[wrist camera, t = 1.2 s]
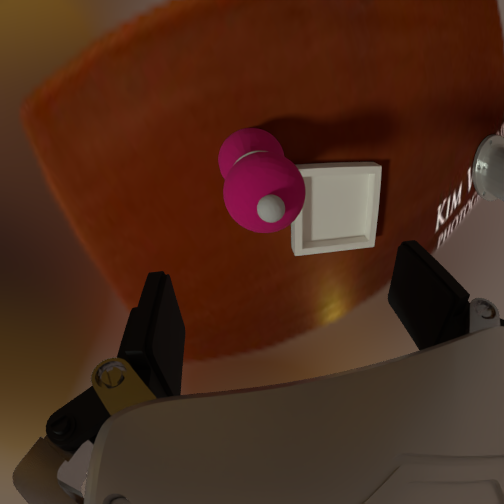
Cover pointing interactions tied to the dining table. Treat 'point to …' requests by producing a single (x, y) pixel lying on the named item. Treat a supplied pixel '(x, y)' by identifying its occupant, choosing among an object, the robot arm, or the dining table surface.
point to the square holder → (337, 207)
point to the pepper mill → (260, 181)
